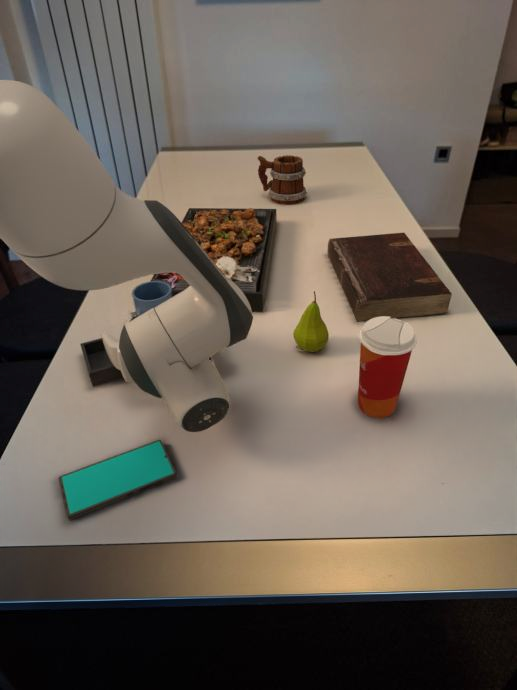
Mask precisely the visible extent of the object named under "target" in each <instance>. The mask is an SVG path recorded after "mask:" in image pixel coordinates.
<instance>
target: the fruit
mask: <svg viewBox="0 0 517 690" xmlns="http://www.w3.org/2000/svg"><path fill="white" fill-rule="evenodd" d="M313 296H314V298H313V301H311V303H309V304H308V305H307V307H306V308H305V310H304V311H303V313H302V315H301V317H300V319H299V321H298V323H297V324H296V327H295V328H294V330H293V333H292V334H293V339H294V341H295V343H296V345H297V347H298V348H299V349H301V350H303V351H305V352H309V353H315V352H318V351H321V350H323V349H325V347H326V345H327V343H328V341H329V330H328V327H327V325H326V323H325V322H324V320H323V318H322V316H321V309H320V306H319V305H318V302H317V296H316V291H315V290H314V291H313Z"/></svg>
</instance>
